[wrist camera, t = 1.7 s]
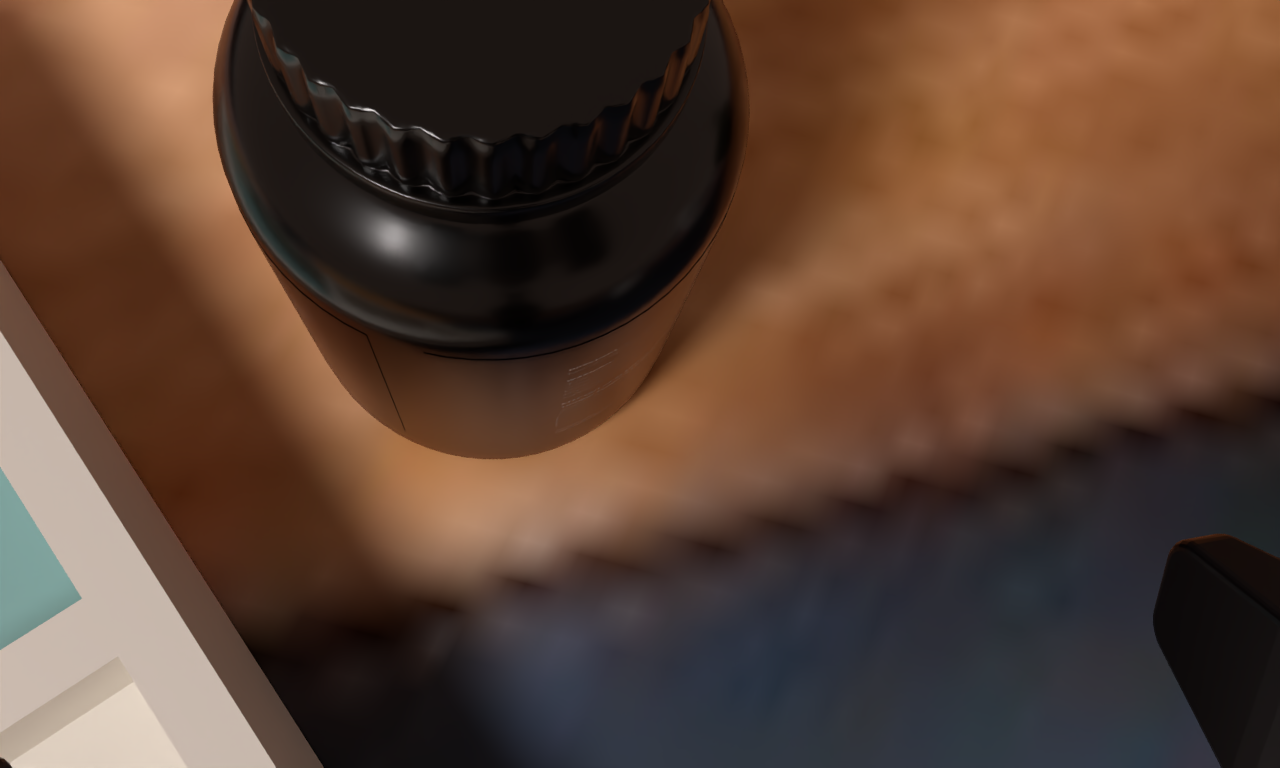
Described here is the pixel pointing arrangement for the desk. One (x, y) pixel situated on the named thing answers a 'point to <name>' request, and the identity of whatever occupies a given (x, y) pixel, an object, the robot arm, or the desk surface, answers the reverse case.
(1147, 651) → the desk surface
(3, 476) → the tray
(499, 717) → the desk surface
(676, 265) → the supplement bottle
